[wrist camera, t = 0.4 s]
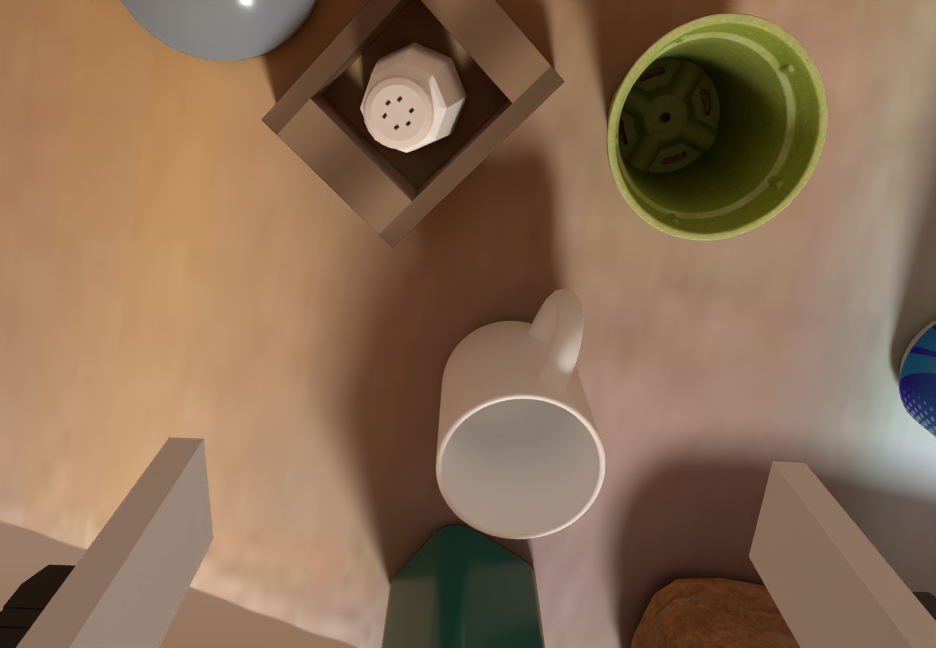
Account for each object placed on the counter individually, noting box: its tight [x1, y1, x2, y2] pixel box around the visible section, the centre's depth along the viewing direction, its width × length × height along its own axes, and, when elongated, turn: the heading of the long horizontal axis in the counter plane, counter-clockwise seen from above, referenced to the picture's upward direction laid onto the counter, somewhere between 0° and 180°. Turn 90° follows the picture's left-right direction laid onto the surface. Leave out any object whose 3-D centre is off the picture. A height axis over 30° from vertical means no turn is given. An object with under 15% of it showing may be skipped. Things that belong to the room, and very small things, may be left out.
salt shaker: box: [360, 42, 467, 153], centre depth 33 cm, size 5×5×11 cm
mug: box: [436, 289, 606, 539], centre depth 38 cm, size 12×8×10 cm
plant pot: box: [607, 13, 828, 240], centre depth 34 cm, size 9×9×9 cm
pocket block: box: [262, 0, 564, 248], centre depth 36 cm, size 9×12×4 cm
